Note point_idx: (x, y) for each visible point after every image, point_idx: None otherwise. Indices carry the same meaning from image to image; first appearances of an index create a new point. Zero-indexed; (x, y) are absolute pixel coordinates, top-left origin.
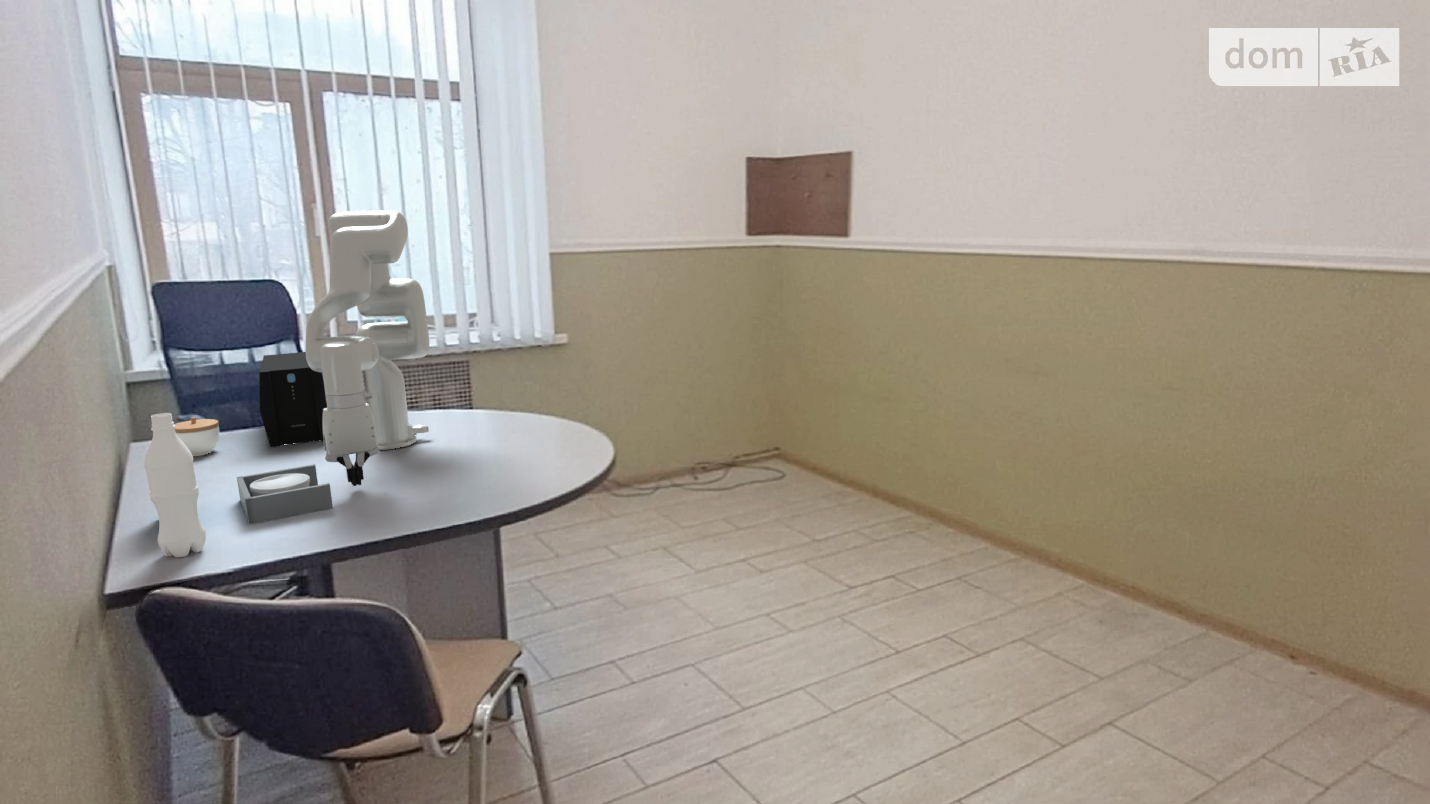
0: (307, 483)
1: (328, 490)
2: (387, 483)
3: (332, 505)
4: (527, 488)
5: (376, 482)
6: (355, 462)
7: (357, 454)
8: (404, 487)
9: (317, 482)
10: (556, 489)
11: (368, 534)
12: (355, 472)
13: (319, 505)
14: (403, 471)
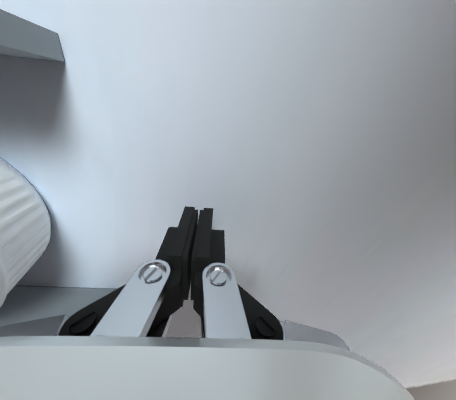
0: (2, 302)
1: None
2: (297, 206)
3: None
4: (418, 362)
5: (279, 171)
6: (197, 293)
7: (213, 331)
8: (306, 263)
9: (43, 56)
10: (429, 377)
11: None
12: (189, 285)
13: None
14: (431, 93)
